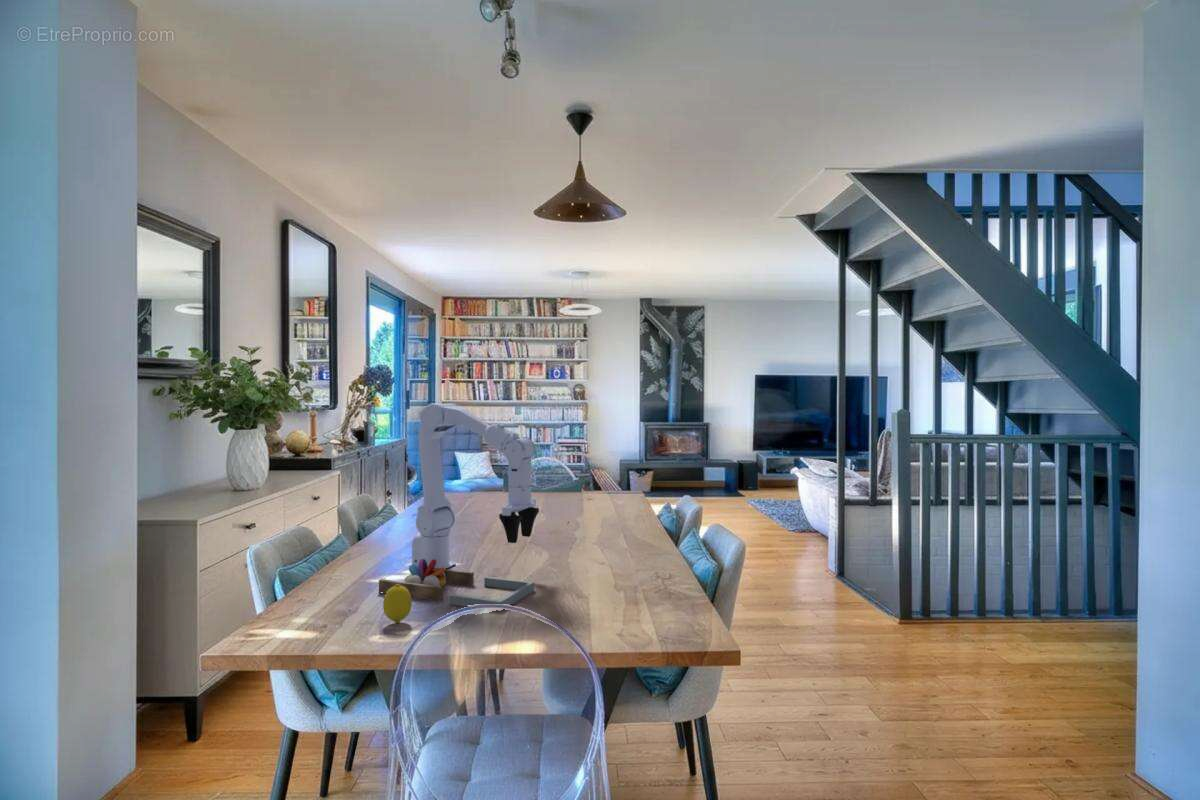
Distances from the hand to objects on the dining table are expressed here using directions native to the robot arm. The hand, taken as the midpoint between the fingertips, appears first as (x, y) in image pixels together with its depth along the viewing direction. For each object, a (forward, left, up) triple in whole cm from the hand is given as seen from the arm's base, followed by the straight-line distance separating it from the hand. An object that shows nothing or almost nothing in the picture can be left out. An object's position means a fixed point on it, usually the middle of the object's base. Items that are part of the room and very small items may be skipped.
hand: (519, 539), depth 167 cm
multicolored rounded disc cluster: (-17, -16, -10) cm, 25 cm away
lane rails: (-16, -16, -10) cm, 25 cm away
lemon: (-8, -38, -10) cm, 40 cm away
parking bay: (+1, -16, -10) cm, 19 cm away
